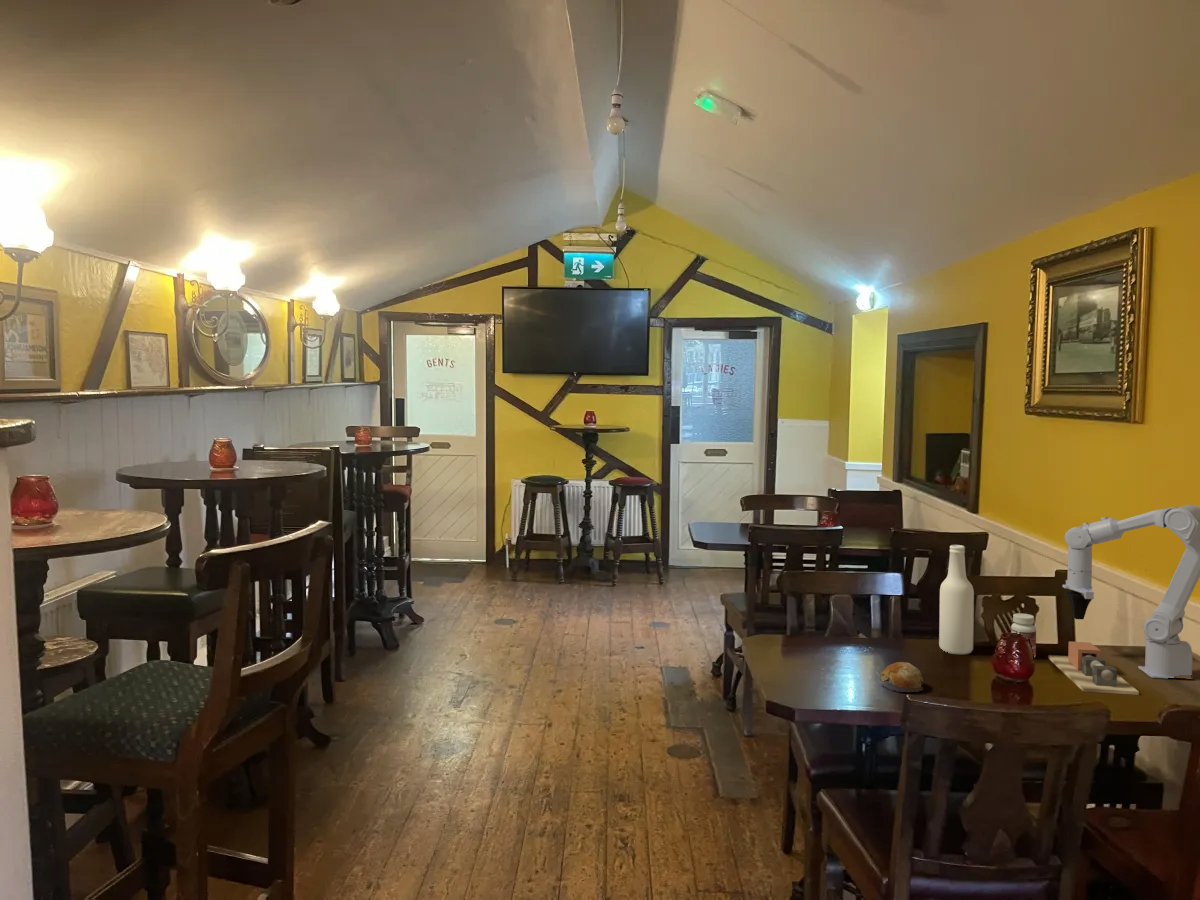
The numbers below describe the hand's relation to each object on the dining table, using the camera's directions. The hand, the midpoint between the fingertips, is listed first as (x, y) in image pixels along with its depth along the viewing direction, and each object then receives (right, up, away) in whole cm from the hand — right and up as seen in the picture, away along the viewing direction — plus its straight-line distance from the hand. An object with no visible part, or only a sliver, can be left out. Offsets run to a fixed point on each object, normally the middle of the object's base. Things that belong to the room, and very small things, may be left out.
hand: (1078, 618), depth 221 cm
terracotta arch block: (-5, -10, -11) cm, 16 cm away
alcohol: (-31, -11, +7) cm, 33 cm away
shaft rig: (-6, -11, -15) cm, 20 cm away
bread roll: (-57, -13, -21) cm, 62 cm away
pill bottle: (-15, -11, +1) cm, 18 cm away
